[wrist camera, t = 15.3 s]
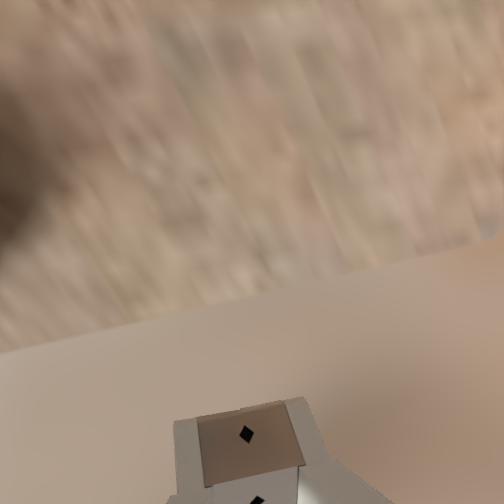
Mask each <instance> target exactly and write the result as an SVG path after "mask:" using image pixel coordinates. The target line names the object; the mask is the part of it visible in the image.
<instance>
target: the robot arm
mask: <svg viewBox="0 0 504 504" xmlns="http://www.w3.org/2000/svg"><path fill="white" fill-rule="evenodd" d="M197 422H198V424H197ZM173 434H174V452H175V466H176V467H175V468H176V484H177V494H176V495H172V496H170V497H169V499H168V501H167V503H166V504H394V503H393V502H392V501H390V500H389V499H388V498H387V497H385V496H384V495H383V494H382V493H380V492H379V491H378V490H376V489H375V488H374V487H373V486H371V485H370V484H369V483H367V482H366V481H365V480H364V479H363V478H361V477H360V476H359V475H357V474H356V473H355V472H353V471H352V470H351V469H350V468H349V467H347V466H346V465H345V464H343V463H342V462H341V461H340V460H338V459H333V460H331V459H330V456H329V454H328V451H327V449H326V447H325V444H324V442H323V439H322V437H321V434H320V432H319V429H318V427H317V424H316V422H315V420H314V417H313V415H312V412H311V410H310V408H309V405H308V402H307V400H306V399H305V398H304V397H303V396H302V397H297V398H292V399H287V400H283V401H281V400H279V401H274V402H270V403H265V404H260V405H256V406H251V407H246V408H241V409H240V410H235V411H229V412H224V413H218V414H212V415H206V416H200V417H197V418H196V417H195V418H189V419H183V420H178V421H174V425H173Z"/></svg>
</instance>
